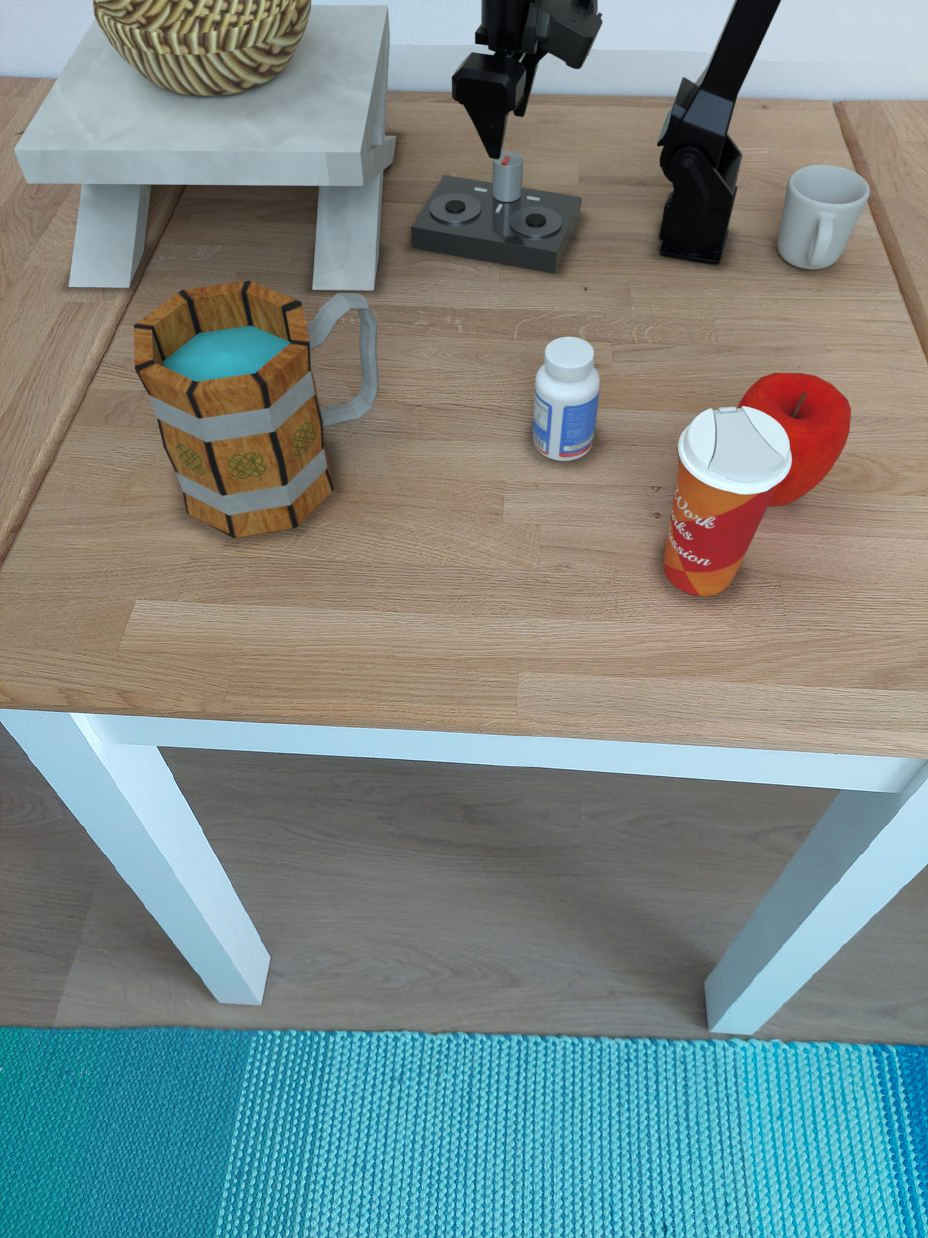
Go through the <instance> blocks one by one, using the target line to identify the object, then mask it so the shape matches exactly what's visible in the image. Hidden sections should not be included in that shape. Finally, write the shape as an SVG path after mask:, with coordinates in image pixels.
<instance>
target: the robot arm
mask: <svg viewBox="0 0 928 1238" xmlns="http://www.w3.org/2000/svg"><path fill="white" fill-rule="evenodd" d="M598 2H599V1H598V0H481V1H480V5H481V6H480V25H479V26H478V28H477V29H476V31H475V32H474V45H480V46H487V50H488V51H491V52H494V53H493V54H488V53H481V52H474V51H472V52H470V53H469V54H468V55H467V56H466V57H465V59H464V60H462V62H461V63H460V64H459V66H458V67H457V69H456V70H455V72H454V73H453V75H451V98H452V99H453V100H454V101H455V102H457V103H458V104H460V105H462V106H463V108H464V109H465V111H466V113H467V114H468V116H469V118H470V120H471V122H472V124H473V126H474V128H475V130H476V132H477V134H478V136H479V138H480V141H481V143H482V145H483V147H484V149H485V151H486V154H487V156H488V158H489V159H492V160H493V159H499V158H500V156H501V152H503V146H504V141H505V136H506V130H507V126H508V120H509V114H510V113H511V112H513V115H514V116H515V117H520V118H524V117H525V115H526V113H527V110H528V105H529V101H530V98H531V95H532V89H533V87H534V83H535V79H536V75H537V73H538V68H539V65H540V61H541V60H542V59H544V58H545V56H547V54H549V55H552V56H554V57H555V58H557V59H558V60H560V61H563V62H564V63H565V65H566V66H567V67H569V68H571V69H573V70H580V69H582V67H583V66H584V64H585V62H586V60H587V57H588V56H589V54H590V52H591V50H592V48H593V46H594V43H595V42H596V39H597V37H598V35H599V32H600V30H601V28H602V25H603V18H602V17H603V13H602V12H599V3H598ZM781 2H782V0H734V1H733V3H732V6H731V9H730V11H729V14H728V16H727V18H726V20H725V23H724V25H723V28H722V30H721V32H720V35H719V37H718V40H717V41H716V44H715V47H714V49H713V51H712V54H711V56H710V58H709V61H708V63H707V65H706V67H705V69H704V70H703V72H702V73H701V74H700V76H699V77H698V78H697V80H695V82H693V81H692V80H689V79H688V78H687V77H685V76H683V77H681V81H680V82H679V83H680V84H679V87H678V89H677V92H676V95H675V98H674V101H673V104H672V107H671V108H670V110H668V112H667V113H666V116H665V119H664V121H663V125H662V128H661V131H660V133H659V136H658V139H657V143H656V146H657V147H659V148H660V147H662V148H661V151H660V156H659V167H660V170H661V171H662V173H663V176H664V177H665V178H666V179H667V180H668V181H669V183H671V184H672V189H673V190H672V191H670V192H669V193H668V194H667V196H666V197H667V198H666V200H665V203H664V206H663V212H662V217H661V223H660V227H659V228H660V230H659V234H658V239H659V241H661V245H660V248H659V252H658V253H659V255H660V256H663V257H668V258H675V259H681V260H685V261H686V260H687V261H693V262H697V263H702V264H703V263H704V264H710V265H720V264H721V262H722V259H723V255H724V250H725V247H726V243H727V240H728V236H729V233H730V230H729V225H730V222H731V217H732V213H733V209H734V206H735V205H734V204H735V200H736V197H737V191H738V188H739V187H738V186H737V181H738V176H739V172H740V168H741V164H742V161H743V152H741V150H740V149H739V147H738V146H737V144H736V143H735V142H734V139H733V138H732V137H731V136H730V134H729V133H728V132H729V129H730V125H731V121H732V117H733V114H734V110H735V106H736V102H737V99H738V96H739V93H740V92H741V89H742V88H743V87H742V86H743V85H744V82H745V80H746V78H747V76H748V74H749V72H750V69H751V67H752V66H753V63H754V61H755V59H756V56H757V54H758V52H759V49H760V48H761V45H762V43H763V41H764V39H765V37H766V36H767V35H766V34H767V32H768V30H769V28H770V26H771V24H772V22H773V20H774V17H775V15H776V13H777V10H779V7H780V4H781Z"/></svg>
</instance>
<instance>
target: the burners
mask: <svg viewBox="0 0 928 1238" xmlns="http://www.w3.org/2000/svg"><path fill="white" fill-rule="evenodd" d="M429 209H430V214H431V215H432V216H433V217H434V218H435V219H436V220H438V221H441V222H444V223H449V224H461V223H466V222H469V221H472V220H474V219H475V218H477V217H478V216H479V214H480V212H481V204H480V202H479V201H478V200H477V199H476V198H474V197H472V196H470V195H466V194H460V193H451V194H445V195H442V196H439V197H437V198H436V199H434V200H433V201H432V202H431V204H430V207H429ZM509 224H510V227H511V229H512V230H513V231H514V232H516V233H517V234H519V235H522V236H525V237H530V238H543V237H548V236H551V235H553V234H555V233H557V232H558V231H559V230H560V228H561V226H562V218H561V216H560V215H559V214H558V213H557V212H555V211H553V210H551V209H549V208H545V207H538V206H532V207H525V208H522V209H519V210H517V211H515V212H514V213H513V214H512V215H511V217H510V220H509Z"/></svg>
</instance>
